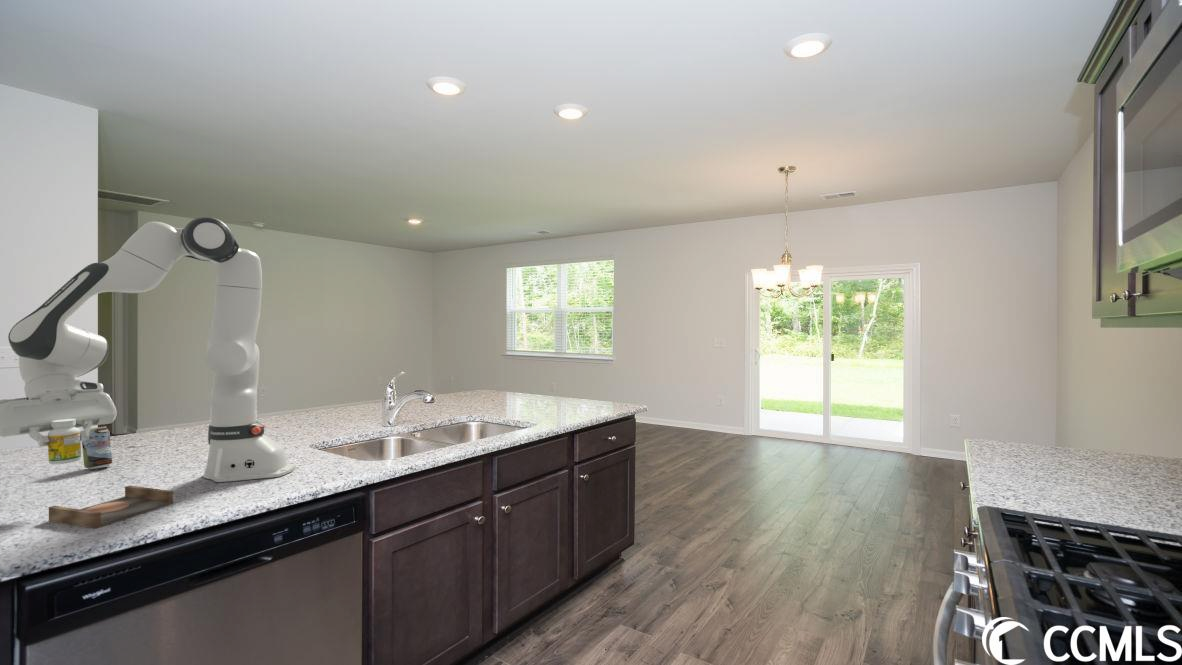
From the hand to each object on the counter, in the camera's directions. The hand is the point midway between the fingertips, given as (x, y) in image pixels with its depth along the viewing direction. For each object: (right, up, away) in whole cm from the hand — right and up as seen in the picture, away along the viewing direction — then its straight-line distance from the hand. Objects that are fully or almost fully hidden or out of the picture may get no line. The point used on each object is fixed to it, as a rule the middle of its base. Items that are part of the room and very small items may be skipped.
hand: (65, 441), depth 124 cm
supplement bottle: (-1, -5, +1) cm, 5 cm away
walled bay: (+13, -16, -2) cm, 20 cm away
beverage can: (-23, -15, +33) cm, 42 cm away
